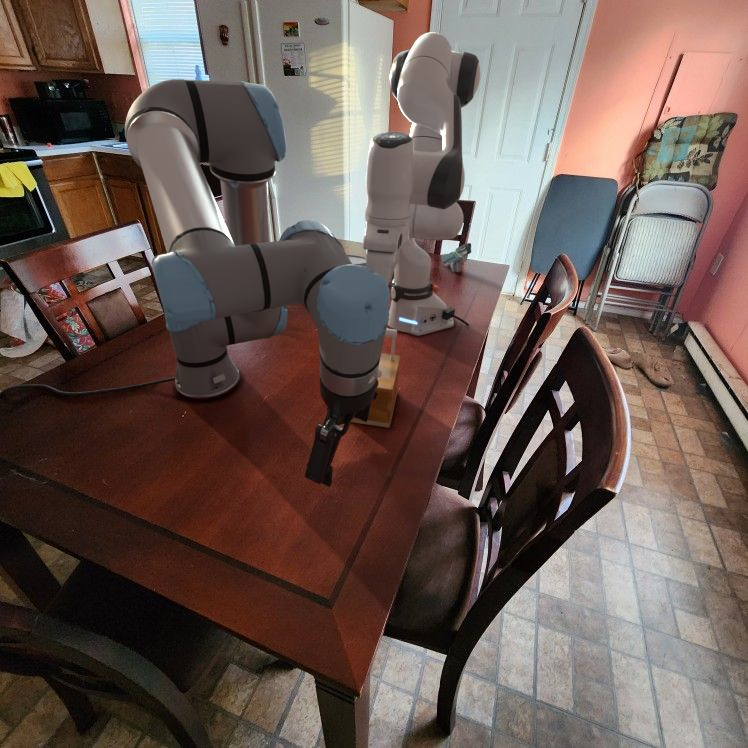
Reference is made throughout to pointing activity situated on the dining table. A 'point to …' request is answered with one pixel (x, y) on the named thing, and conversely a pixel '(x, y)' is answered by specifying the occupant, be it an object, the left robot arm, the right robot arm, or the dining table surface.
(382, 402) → the chest
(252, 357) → the dining table surface
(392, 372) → the lid
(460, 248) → the toy gun
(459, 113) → the right robot arm
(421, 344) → the dining table surface
